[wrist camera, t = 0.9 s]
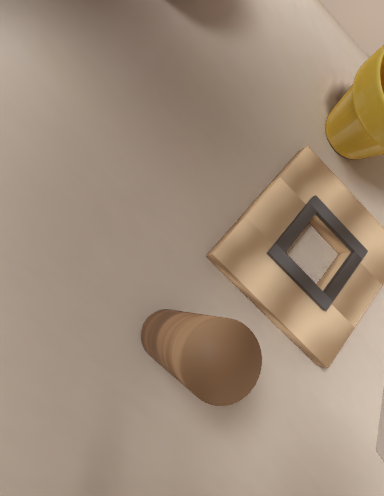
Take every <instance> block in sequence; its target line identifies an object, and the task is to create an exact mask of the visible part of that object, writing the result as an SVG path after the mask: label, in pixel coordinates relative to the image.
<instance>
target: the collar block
mask: <svg viewBox="0 0 384 496" xmlns="http://www.w3.org/2000/svg"><path fill="white" fill-rule="evenodd" d="M308 223H310V224H311V225H312V226H313V227H314V228H315V229H316V230H317V231H318V232H319V233H320V234H321V236H322V237H323V238H324V239H325V240H326V241H327V242H328V243H329V244H330V245H331V246H332V247H333V248H334V249H335V250H336V251H337V252H338V253H339V255H338V256H337V258H336V259H335V260H334V262H333V263H332V264H331V266H330V267H329V268H328V270H327V271H326V273H325V274H324V275H323V277H322V278H321V279H320V281H319V282H318V284H317V285H316V284H315V283H314V282H313V281H312V280H311V278H310V277H309V276H308V275H307V274H306V273H305V272H304V271H303V270H302V269H301V268H300V267H299V266H298V265H297V264H296V263H295V262H294V261H293V260H292V259H291V258H290V257H289V256H288V255H287V254H286V253H285V252H286V250H287V249H288V248H289V247H290V245H291V244H292V243H293V242H294V240H295V239H296V238H297V237H298V235H299V234H300V233H301V232H302V230H303V229H304V228H305V227H306V225H307V224H308ZM206 257H207V258H208V259H209V260H210V261H211V262H212V263H213V264H214V265H215V266H216V267H217V268H218V269H219V270H220V271H221V272H222V273H223V274H224V275H226V276H227V277H228V278H229V279H230V280H231V281H232V282H233V283H234V284H235V285H236V286H237V287H238V288H239V289H240V290H241V291H242V292H243V293H244V294H245V295H246V296H247V297H248V298H249V299H250V300H251V301H252V302H253V303H254V304H255V305H256V306H257V307H258V308H259V309H260V310H261V311H262V312H263V313H264V314H265V315H266V316H267V317H268V318H269V319H270V320H271V321H272V322H273V323H274V324H275V325H276V326H277V327H278V328H279V329H280V330H281V331H283V332H284V333H285V334H286V335H287V336H288V337H289V338H290V339H291V340H292V341H293V342H294V343H295V344H296V345H297V346H298V347H299V348H300V349H301V350H302V351H303V352H304V353H305V354H306V355H307V356H308V357H309V358H310V359H311V360H312V361H313V362H314V363H315V364H316V365H319V366H322V367H326V368H328V367H329V366H330V364H331V363H332V361H333V360H334V358H335V357H336V355H337V354H338V352H339V351H340V349H341V347H342V346H343V344H344V343H345V341H346V340H347V338H348V337H349V335H350V334H351V332H352V331H353V329H354V328H355V326H356V325H357V323H358V322H359V320H360V319H361V317H362V315H363V314H364V312H365V311H366V309H367V308H368V306H369V305H370V303H371V302H372V300H373V299H374V297H375V296H376V294H377V293H378V291H379V290H380V288H381V287H382V285H383V283H384V228H383V227H382V226H381V225H380V224H379V223H378V222H377V221H376V219H375V218H374V217H373V216H372V215H371V214H370V213H369V212H368V211H367V210H366V209H365V207H364V206H363V205H362V204H361V203H360V202H359V201H358V200H357V199H356V198H355V197H354V195H353V194H352V193H351V192H350V191H349V190H348V189H347V188H346V187H345V186H344V185H343V183H342V182H341V181H340V180H339V179H338V178H337V177H336V176H335V175H334V174H333V173H332V171H331V170H330V169H329V168H328V167H327V166H326V165H325V164H324V163H323V162H322V161H321V159H320V158H319V157H318V156H317V155H316V154H315V153H314V152H313V151H312V150H311V149H310V148H309V146H306V147H305V148H303V149H302V150H300V151H299V152H298V153H297V154H296V155H295V156H294V157H293V158H292V159H291V161H290V162H289V163H288V164H287V165H286V166H285V167H284V168H283V170H282V171H281V172H280V173H279V174H278V175H277V176H276V178H275V179H274V180H273V181H272V182H271V183H270V184H269V185H268V187H267V188H266V189H265V190H264V191H263V192H262V193H261V194H260V196H259V197H258V198H257V199H256V200H255V201H254V202H253V204H252V205H251V206H250V207H249V208H248V209H247V210H246V211H245V213H244V214H243V215H242V216H241V217H240V218H239V219H238V221H237V222H236V223H235V224H234V225H233V226H232V227H231V228H230V230H229V231H228V232H227V233H226V234H225V235H224V236H223V238H222V239H221V240H220V241H219V242H218V243H217V244H216V245H215V247H214V248H213V249H212V250H211V251H210V252H209V253H208V254H207V256H206Z"/></svg>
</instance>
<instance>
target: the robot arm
mask: <svg viewBox="0 0 384 496" xmlns="http://www.w3.org/2000/svg"><path fill="white" fill-rule="evenodd" d="M376 451H377V453H378V454H379V456H380V457H381V459H382V461H383V462H384V389H383V397H382V405H381V413H380V421H379V429H378V437H377V445H376Z"/></svg>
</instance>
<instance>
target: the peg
mask: <svg viewBox="0 0 384 496" xmlns="http://www.w3.org/2000/svg"><path fill="white" fill-rule="evenodd" d="M141 341H142V345H143V347H144V349H145V351H146V352H147V353H148V354H149V355H150V356H151V357H152V358H154V359H155V360H156V361H157V362H158V363H159V364H160V365H162V366H163V367H164V368H165V369H166V370H167V371H168V372H169V373H171V374H172V375H173V376H174V377H175V378H176V379H177V380H179V381H180V382H181V383H182V384H183V385H184V386H185V387H187V388H188V389H189V390H190V391H191V392H192V393H193V394H195V395H196V396H197V397H198V398H199V399H201V400H202V401H204V402H206V403H208V404H211V405H216V406H225V405H230V404H233V403H236V402H238V401H240V400H241V399H243V398H244V397H245V396H246V395H248V394H249V393H250V391H251V390H252V389H253V387H254V386H255V384H256V382H257V380H258V378H259V375H260V371H261V365H262V356H261V350H260V346H259V343H258V341H257V339H256V337H255V335H254V334H253V332H252V331H251V330H250V329H249V328H248V327H247V326H245V325H244V324H242V323H241V322H239V321H237V320H233V319H229V318H222V317H215V316H209V315H202V314H195V313H188V312H182V311H175V310H168V309H165V310H159V311H157V312H155V313H153V314H152V315H150V316H149V317H148V318H147V320H146V321H145V323H144V324H143V327H142V330H141Z"/></svg>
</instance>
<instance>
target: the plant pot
mask: <svg viewBox="0 0 384 496" xmlns="http://www.w3.org/2000/svg"><path fill="white" fill-rule="evenodd" d="M326 135H327V138H328V140H329V142H330V144H331V146H332V147H333V148H334V149H335V151H337V152H338V153H339V154H340V155H342V156H344V157H346V158H349V159H362V158H367V157H371V156H376V155H381V154H384V45H383V46H382V47H381V48H380V49H379V50H377V51H376V52H375V53H374V54H373V55H372V56H371V57H370V58H369V59H368V60H367V61H366V62H365V63H364V64H363V65H362V66H361V67H360V69H359V70H358V72H357V74H356V76H355V79H354V83H353V85H352V86H351V87H350V89H349V90H348V91H347V92H346V94H345V95H344V96H343V97H342V99H341V100H340V101H339V102H338V104H337V105H336V106H335V107H334V109H333V110H332V111H331V112H330V114H329V115H328V118H327V121H326Z"/></svg>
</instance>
